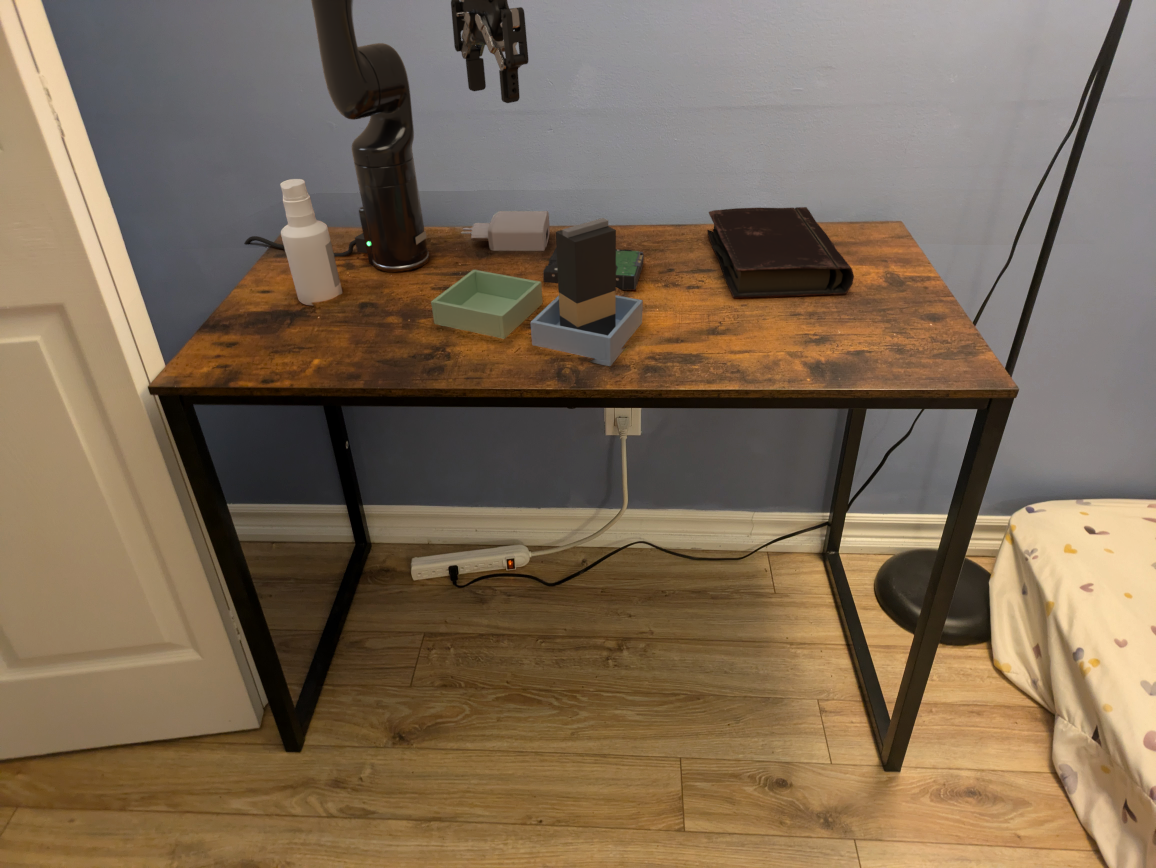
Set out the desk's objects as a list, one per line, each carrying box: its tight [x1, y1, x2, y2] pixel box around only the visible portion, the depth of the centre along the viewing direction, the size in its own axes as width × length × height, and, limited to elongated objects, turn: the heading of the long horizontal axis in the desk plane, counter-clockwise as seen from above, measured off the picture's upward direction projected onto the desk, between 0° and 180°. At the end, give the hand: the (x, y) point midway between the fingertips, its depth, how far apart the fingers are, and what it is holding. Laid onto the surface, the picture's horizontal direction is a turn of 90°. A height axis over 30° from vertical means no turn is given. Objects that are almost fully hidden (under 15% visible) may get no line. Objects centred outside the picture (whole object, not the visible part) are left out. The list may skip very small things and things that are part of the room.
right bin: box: [529, 294, 644, 367], centre depth 106 cm, size 12×12×4 cm
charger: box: [460, 210, 550, 252], centre depth 134 cm, size 5×9×15 cm
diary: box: [706, 206, 855, 299], centre depth 124 cm, size 19×25×5 cm
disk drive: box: [542, 247, 645, 291], centre depth 123 cm, size 10×3×15 cm
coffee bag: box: [555, 217, 617, 336], centre depth 102 cm, size 4×6×16 cm
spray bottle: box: [279, 178, 343, 307], centre depth 115 cm, size 7×7×18 cm
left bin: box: [430, 269, 544, 340], centre depth 112 cm, size 12×12×4 cm
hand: (493, 95), depth 97 cm, fingers open, 8 cm apart
